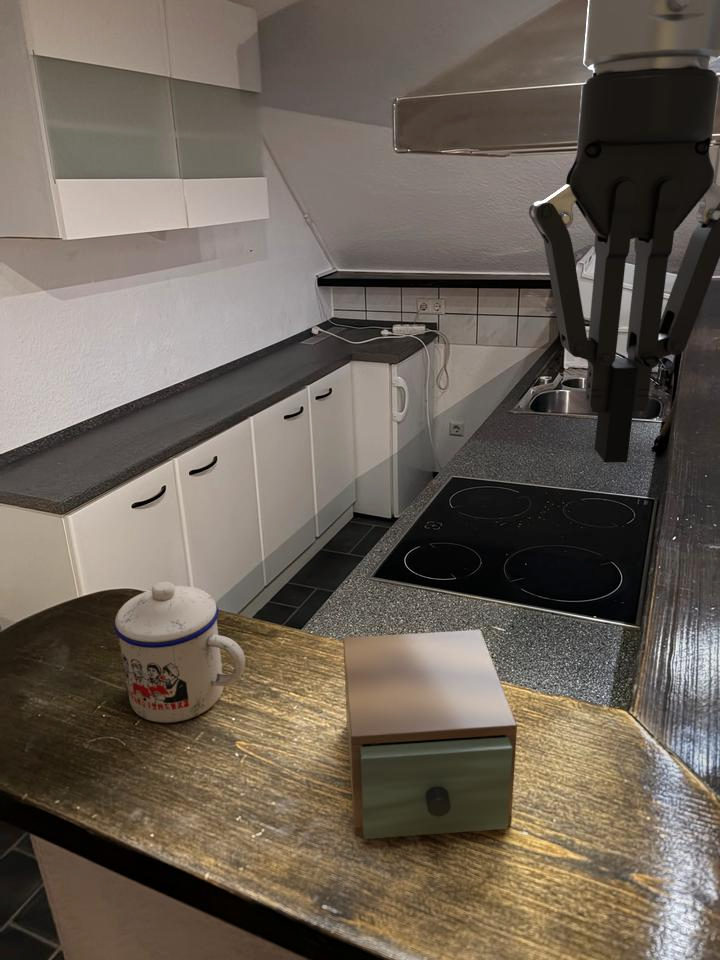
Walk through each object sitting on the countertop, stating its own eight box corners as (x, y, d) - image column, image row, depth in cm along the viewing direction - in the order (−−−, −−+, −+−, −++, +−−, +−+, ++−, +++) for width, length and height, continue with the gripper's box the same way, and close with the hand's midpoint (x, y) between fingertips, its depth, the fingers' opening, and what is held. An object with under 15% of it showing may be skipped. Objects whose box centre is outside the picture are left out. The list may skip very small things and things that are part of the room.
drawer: (511, 842, 54) (517, 761, 51) (364, 853, 53) (362, 771, 50) (476, 726, 65) (479, 654, 62) (354, 734, 65) (352, 662, 62)
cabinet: (511, 824, 56) (517, 725, 53) (354, 836, 56) (350, 736, 52) (477, 716, 68) (480, 629, 64) (346, 725, 67) (343, 637, 64)
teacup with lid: (106, 714, 69) (86, 603, 65) (164, 657, 77) (149, 555, 73) (223, 743, 65) (209, 627, 61) (270, 681, 73) (261, 574, 69)
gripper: (549, 66, 41) (525, 477, 49) (798, 58, 40) (729, 474, 49) (524, 81, 48) (507, 439, 56) (736, 74, 47) (685, 436, 56)
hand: (610, 455), depth 53 cm, fingers closed
